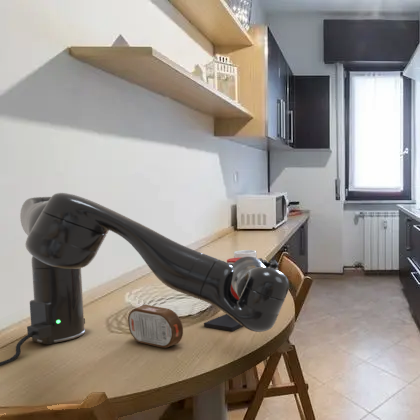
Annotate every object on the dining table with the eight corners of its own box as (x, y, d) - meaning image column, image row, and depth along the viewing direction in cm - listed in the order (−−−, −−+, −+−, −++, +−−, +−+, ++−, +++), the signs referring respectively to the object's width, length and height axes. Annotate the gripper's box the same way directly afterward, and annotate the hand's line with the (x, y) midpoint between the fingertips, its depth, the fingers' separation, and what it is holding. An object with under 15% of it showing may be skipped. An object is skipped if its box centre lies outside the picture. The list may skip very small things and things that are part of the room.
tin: (184, 346, 94) (183, 309, 94) (172, 352, 92) (171, 313, 91) (138, 337, 101) (137, 302, 100) (126, 341, 98) (124, 305, 97)
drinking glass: (251, 303, 128) (250, 253, 127) (230, 302, 129) (229, 253, 128) (261, 297, 135) (260, 250, 134) (241, 296, 136) (240, 249, 135)
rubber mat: (232, 331, 104) (232, 327, 104) (203, 326, 108) (203, 322, 107) (272, 312, 119) (272, 309, 119) (246, 309, 122) (246, 305, 122)
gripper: (213, 300, 85) (210, 282, 100) (285, 292, 90) (272, 276, 105) (212, 262, 84) (209, 250, 99) (284, 257, 90) (271, 246, 105)
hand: (241, 263), depth 102 cm, fingers open, 8 cm apart
